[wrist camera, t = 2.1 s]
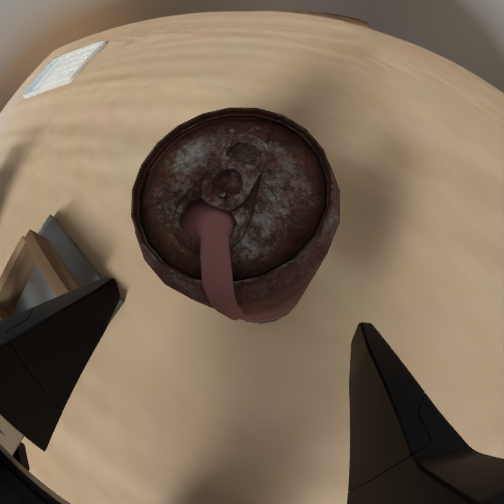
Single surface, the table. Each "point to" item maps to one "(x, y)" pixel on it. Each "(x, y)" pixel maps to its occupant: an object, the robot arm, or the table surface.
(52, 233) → the collar
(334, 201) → the can
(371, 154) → the table surface
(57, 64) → the calculator
